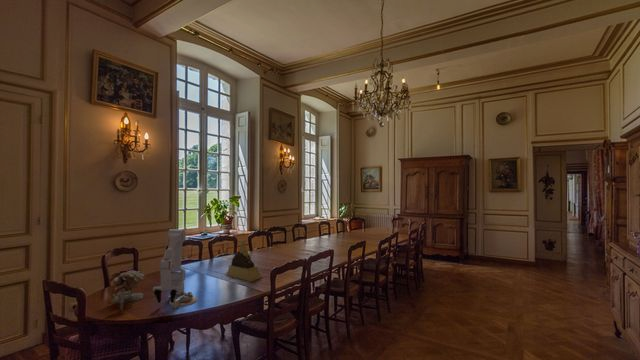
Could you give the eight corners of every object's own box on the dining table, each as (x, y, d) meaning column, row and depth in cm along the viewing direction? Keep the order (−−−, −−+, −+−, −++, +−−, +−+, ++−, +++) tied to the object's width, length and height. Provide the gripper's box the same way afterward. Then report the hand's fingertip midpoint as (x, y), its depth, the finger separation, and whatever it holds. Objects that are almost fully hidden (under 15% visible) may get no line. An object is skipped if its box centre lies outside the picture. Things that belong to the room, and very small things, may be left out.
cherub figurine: (121, 293, 219) (122, 267, 220) (149, 293, 221) (149, 266, 221) (106, 303, 202) (107, 274, 202) (136, 302, 203) (137, 273, 203)
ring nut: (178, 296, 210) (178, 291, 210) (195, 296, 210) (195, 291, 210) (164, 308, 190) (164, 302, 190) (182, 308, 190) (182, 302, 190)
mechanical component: (110, 311, 189) (111, 294, 189) (130, 306, 196) (130, 290, 196) (112, 312, 187) (112, 295, 187) (132, 308, 194) (132, 291, 194)
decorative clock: (262, 277, 259) (262, 239, 259) (250, 281, 248) (250, 242, 249) (238, 272, 275) (238, 236, 275) (226, 275, 264) (226, 238, 265)
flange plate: (176, 297, 213) (176, 295, 213) (200, 297, 213) (200, 295, 213) (164, 306, 197) (164, 304, 197) (191, 306, 197) (191, 304, 197)
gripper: (150, 281, 192) (150, 304, 191) (175, 281, 192) (175, 304, 192) (156, 278, 199) (156, 300, 199) (180, 278, 199) (179, 300, 199)
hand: (165, 302), depth 196 cm, fingers open, 7 cm apart
